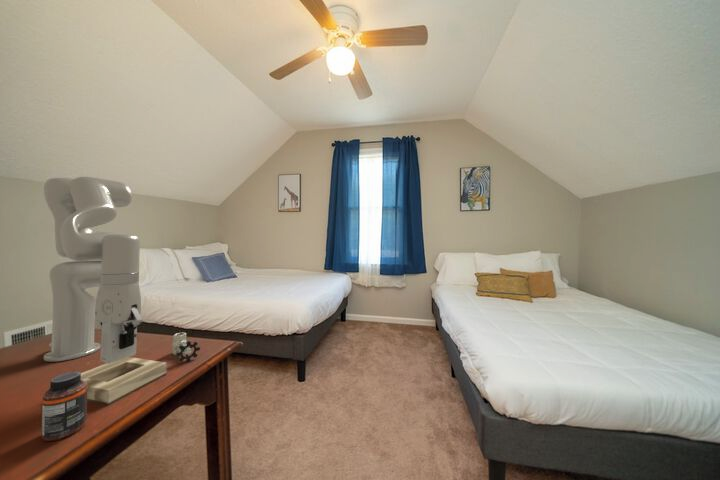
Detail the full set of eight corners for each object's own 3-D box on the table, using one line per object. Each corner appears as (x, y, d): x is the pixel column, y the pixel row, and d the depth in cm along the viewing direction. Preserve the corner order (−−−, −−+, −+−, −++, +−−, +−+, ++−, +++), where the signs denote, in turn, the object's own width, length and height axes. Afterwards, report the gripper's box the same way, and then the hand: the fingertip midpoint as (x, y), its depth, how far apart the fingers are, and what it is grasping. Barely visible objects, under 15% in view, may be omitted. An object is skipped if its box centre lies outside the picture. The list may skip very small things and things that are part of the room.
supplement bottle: (65, 421, 53) (67, 368, 53) (95, 420, 54) (96, 368, 54) (30, 443, 47) (32, 384, 47) (64, 442, 48) (66, 383, 48)
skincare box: (108, 364, 63) (110, 317, 63) (99, 361, 65) (100, 315, 65) (137, 354, 69) (138, 311, 69) (128, 351, 71) (129, 309, 71)
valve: (166, 354, 85) (176, 365, 77) (166, 335, 85) (176, 344, 77) (188, 348, 90) (200, 358, 83) (188, 330, 90) (200, 338, 83)
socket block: (60, 395, 62) (60, 381, 62) (124, 367, 75) (124, 356, 75) (108, 405, 58) (108, 390, 58) (166, 374, 72) (166, 362, 72)
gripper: (79, 280, 65) (77, 348, 65) (129, 282, 62) (127, 355, 61) (113, 276, 73) (111, 338, 72) (159, 278, 69) (157, 343, 69)
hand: (118, 345), depth 67 cm, fingers closed on skincare box, 4 cm apart
